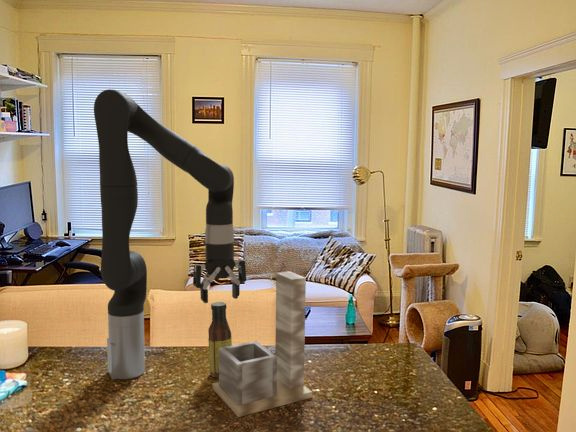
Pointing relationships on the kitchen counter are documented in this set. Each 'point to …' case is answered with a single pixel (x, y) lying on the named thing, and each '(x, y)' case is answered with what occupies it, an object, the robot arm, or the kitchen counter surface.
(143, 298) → the robot arm
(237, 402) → the grey holder stand
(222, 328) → the sauce bottle
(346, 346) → the kitchen counter surface
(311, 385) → the kitchen counter surface
